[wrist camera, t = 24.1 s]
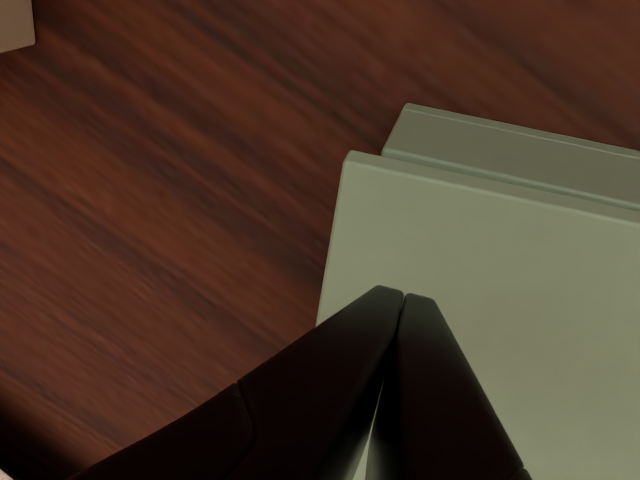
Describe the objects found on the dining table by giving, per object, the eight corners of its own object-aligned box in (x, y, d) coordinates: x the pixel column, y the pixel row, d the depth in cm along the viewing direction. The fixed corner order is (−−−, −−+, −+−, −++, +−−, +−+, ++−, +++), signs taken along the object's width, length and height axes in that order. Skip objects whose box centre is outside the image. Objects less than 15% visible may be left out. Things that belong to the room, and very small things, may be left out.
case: (330, 451, 18) (303, 543, 16) (405, 101, 13) (381, 147, 10) (692, 562, 17) (731, 685, 14) (953, 215, 11) (1101, 306, 9)
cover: (280, 549, 16) (273, 570, 15) (349, 148, 10) (343, 159, 9) (732, 688, 14) (742, 717, 14) (1103, 308, 9) (1143, 332, 8)
